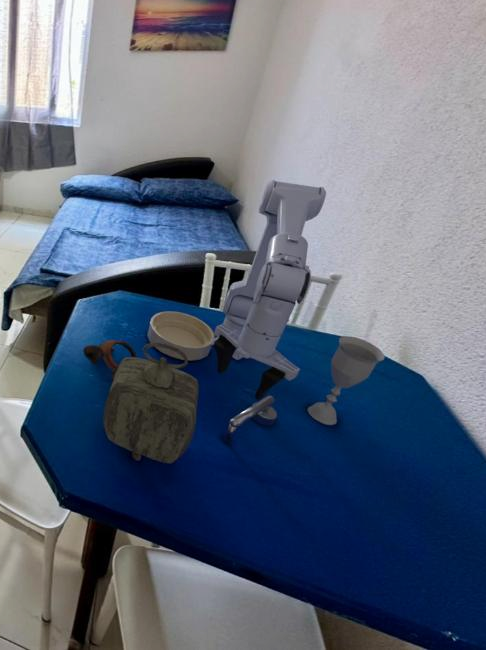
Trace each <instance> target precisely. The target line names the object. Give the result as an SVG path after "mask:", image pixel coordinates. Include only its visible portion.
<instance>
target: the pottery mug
mask: <svg viewBox="0 0 486 650" xmlns="http://www.w3.org/2000/svg"><path fill="white" fill-rule="evenodd" d="M115 345H119V346H122V347H123V348H125V349H127V350H128V352H129V354H130V357H135V358H138V357H137V353H136V352H135V349H134V348H133V347H132V345H131V344H129V343H128V342H126V341H123V340H106V341H104V342H102V343H101V344H99V345H97V344H90V345H86V346H85V347H84V348H83V355H84V357H86V359H88V360H89V361H90V362H91V364H92V365H93V366H94V365H96V362H97V361H98V360H99V359H101V358H102V359H103V361H104V362H105V364H106V365H107V366H108V368H109V369H110V370H111V371H112V372H113V374H111V376H110V378H109V379H110V380H112V381H113V380H114V377H115V374H116V372H117V369H118V367H119V364H118V363H117V362H116V361H115V360H114V358H113V356H112V354H113V352H115V351H116V349H115V348H113V347H114V346H115ZM103 355H104V356H103Z"/></svg>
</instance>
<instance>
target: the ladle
mask: <svg viewBox="0 0 486 650" xmlns="http://www.w3.org/2000/svg"><path fill="white" fill-rule="evenodd" d="M275 402H276V400H275V398H274V397H273V396H272V395H266V396H264V397H262V398H261V399H259V400H258V401H257V402H254V403H253V404H252V405H251V406H249V407H248V408H246V409H245V410H243V411H242V412H240V413H239V414H237V415H235V416H234V417H232V418H231V419H230V420H229V425H228V427H227V430H226V432H225V434H224V436H223V440H224V442H226V443H230V442H232V439H233V437H234V434H235V432H236V430H237V428H239V427H240V426H242V425H243V424H244V423H246V422H247V421H249V420H250V419H252V420H253V421H255V422H256V423H258V424H260V425H262V426H266V427H267V426H272V425H273V424H274V423H275V422H276V420H277V417H278V412H277V410H275V408H274V407H272V405H273V404H274V403H275Z"/></svg>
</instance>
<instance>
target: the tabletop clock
mask: <svg viewBox="0 0 486 650" xmlns="http://www.w3.org/2000/svg"><path fill="white" fill-rule="evenodd" d="M152 347H154V348H155V347H162V348H166V349H169V350H172V351H175V352H177V353H178V354H180V355H181V356H182V357H183V358H184V360H183V361H184V363H182V364H173V363H169V362H168V360H167V358H166V357H161V358H159V359H156V358H153V357H152V356H150V355H149V354H148V353H147V352H146V350H147V349H149V348H152ZM142 354H143V356H144V357H145V358H146V359H145V358H142V357H141V358H140V357H137V358H135V357H132V356H125V357H124V358H123V359H122V360H121V361H120V363H119V364H118V369H117V372H116V374H115V377H114V380H113V379H112V383H111V386H110V389H109V392H108V395H107V397H106V400H105V401H106V402H105V404H104V407H103V418H102V420H103V421H102V422H103V429H104V432H105V434H106V437H107V439H108V440H109V441H111V442H112V443H114V444H115V445H117V446H119V447H121V448H123V449H125V450H128V451H130V452H132V454H131V456H132V458H133V459H134V461H137V462H138V461H141V459H142V456H144V457H145V458H149V459H150V460H154V461H157V462H160V463H164V464H172V463H174V462H175V461H176V460H178V459H179V458H181V457H182V456H183V455H184V454H185V452H187V451H186V450H187V449H188V448H189V446H190V443H191V441H192V440H193V438H194V437H193V436H194V433H195V429H196V424H197V414H198V413H197V412H198V403H199V402H198V401H199V391H200V390H199V389H200V388H199V387H200V385H199V382H198V379H197V378H195V377H194V376H192V375H191V374H189V373H187V372H185V371H182V370H180V369H182V368H185V367H187V365H188V364H189V360H188V359H187V356H186V355H185V354H184V353H183V352H182V351H181V350H179V349H178V348H175V347H173V346H170V345H167V344H162V343H151V342H149V343H147V344H145V345H144V346H143V347H142Z"/></svg>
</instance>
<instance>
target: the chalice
mask: <svg viewBox="0 0 486 650" xmlns="http://www.w3.org/2000/svg"><path fill="white" fill-rule="evenodd" d="M338 344H339V345H338V347H337V349H336V351H335V353H334V354H333V356H332V358H331V365H330V371H331V379H332V382H333V384H335V386H334V387H333V388H331V389H330V391H331V393H330V394H327V395H326V398H327V400H326V401H325V402H324V401H319V402H315V403H314V404H312V405H310V406H309V407H307V412H308V414H309V415H310V416H311V417H312V418H313V419H314V420H316V421H317V422H319V423H321V424H323V425H328V426H333V425H336V424H337V422H338V420H337V411H336V409H335V407H334V406H333V404H334V403H337V402H338V399H337V397H338V396H340V395H341V390H342V388H343V389H349V388H352V387H354V386H356V385H358V384H361V383H363V382H364V381H365V380H366V379H368V378H369V377H370V375H371V374H372V372H373V371H374V369H375V367H376V365H377V364H378V363H380V362H382V361H384V359H385V358H386V357H385V354H384V353H383V351H382V350H381V349H380V348H378V347H377V346H376V345H374V344H373V343H371V342H368V341H367V340H364V339H362V338H358V337H355V336H349V335H348V336H347V335H346V336H340V338H338Z"/></svg>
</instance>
